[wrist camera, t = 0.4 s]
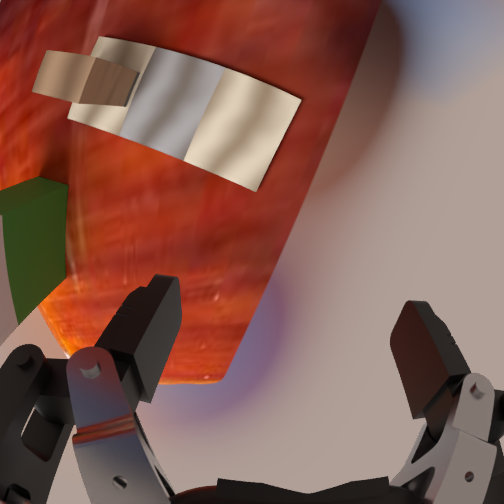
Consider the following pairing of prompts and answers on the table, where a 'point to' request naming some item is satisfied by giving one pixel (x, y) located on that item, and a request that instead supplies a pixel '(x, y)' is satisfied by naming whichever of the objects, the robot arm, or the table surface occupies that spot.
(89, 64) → the block
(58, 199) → the hardback book
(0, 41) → the table surface
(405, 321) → the robot arm
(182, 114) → the board
